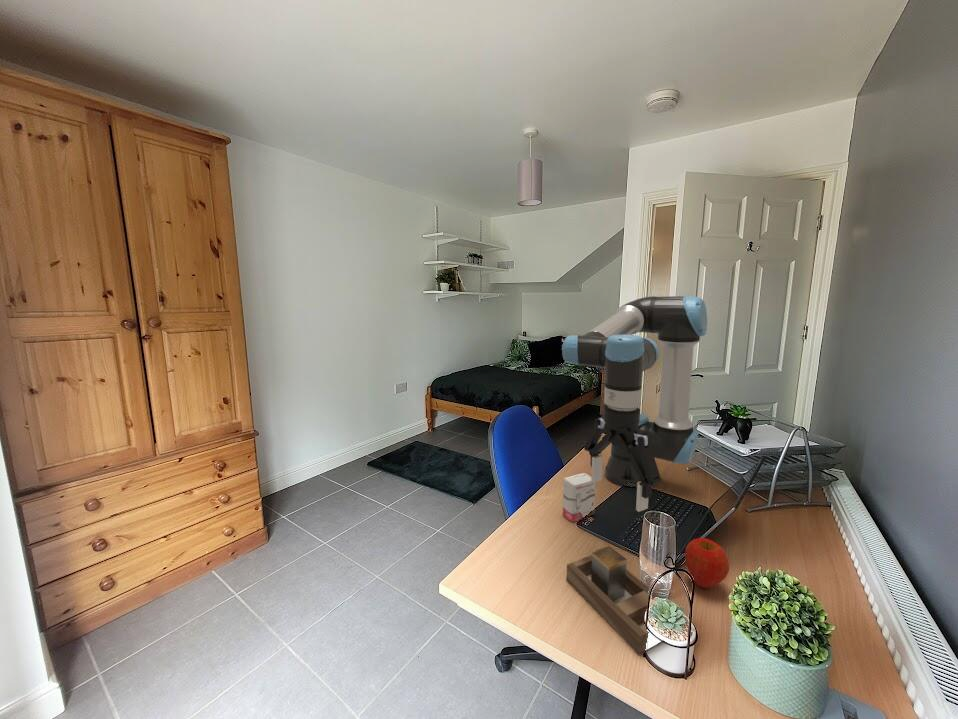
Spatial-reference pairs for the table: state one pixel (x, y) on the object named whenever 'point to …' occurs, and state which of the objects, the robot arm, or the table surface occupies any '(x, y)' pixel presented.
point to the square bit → (609, 572)
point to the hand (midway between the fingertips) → (617, 494)
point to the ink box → (578, 496)
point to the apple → (706, 562)
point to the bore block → (615, 603)
